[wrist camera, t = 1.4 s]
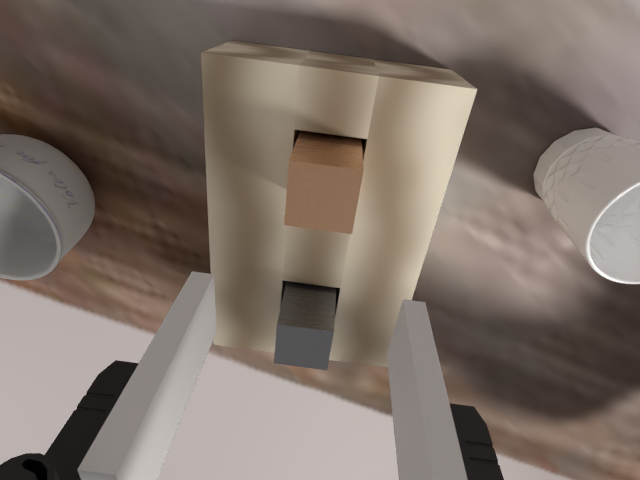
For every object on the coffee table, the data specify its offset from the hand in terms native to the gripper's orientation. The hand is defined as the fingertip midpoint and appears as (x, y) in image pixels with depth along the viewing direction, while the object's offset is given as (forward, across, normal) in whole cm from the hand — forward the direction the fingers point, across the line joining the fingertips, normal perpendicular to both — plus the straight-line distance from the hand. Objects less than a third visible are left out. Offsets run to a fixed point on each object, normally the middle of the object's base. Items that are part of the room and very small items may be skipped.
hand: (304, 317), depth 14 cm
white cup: (+21, -20, 0) cm, 29 cm away
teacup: (+21, +26, +7) cm, 34 cm away
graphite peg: (+15, 0, +12) cm, 20 cm away
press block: (+21, 0, +6) cm, 22 cm away
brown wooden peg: (+15, 0, 0) cm, 15 cm away
